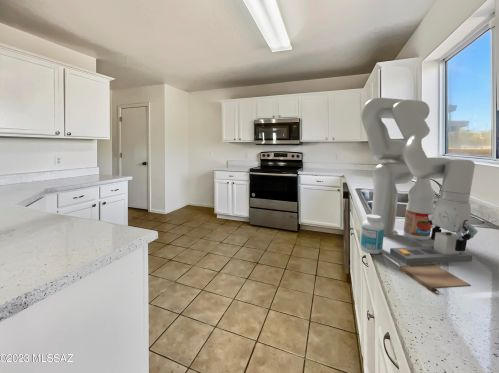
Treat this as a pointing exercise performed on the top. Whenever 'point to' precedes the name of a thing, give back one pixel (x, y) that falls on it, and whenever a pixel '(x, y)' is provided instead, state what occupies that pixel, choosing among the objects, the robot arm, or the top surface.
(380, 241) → the pill bottle
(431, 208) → the fruit juice
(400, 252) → the power strip
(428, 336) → the top surface
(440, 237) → the block
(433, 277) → the walnut mat
